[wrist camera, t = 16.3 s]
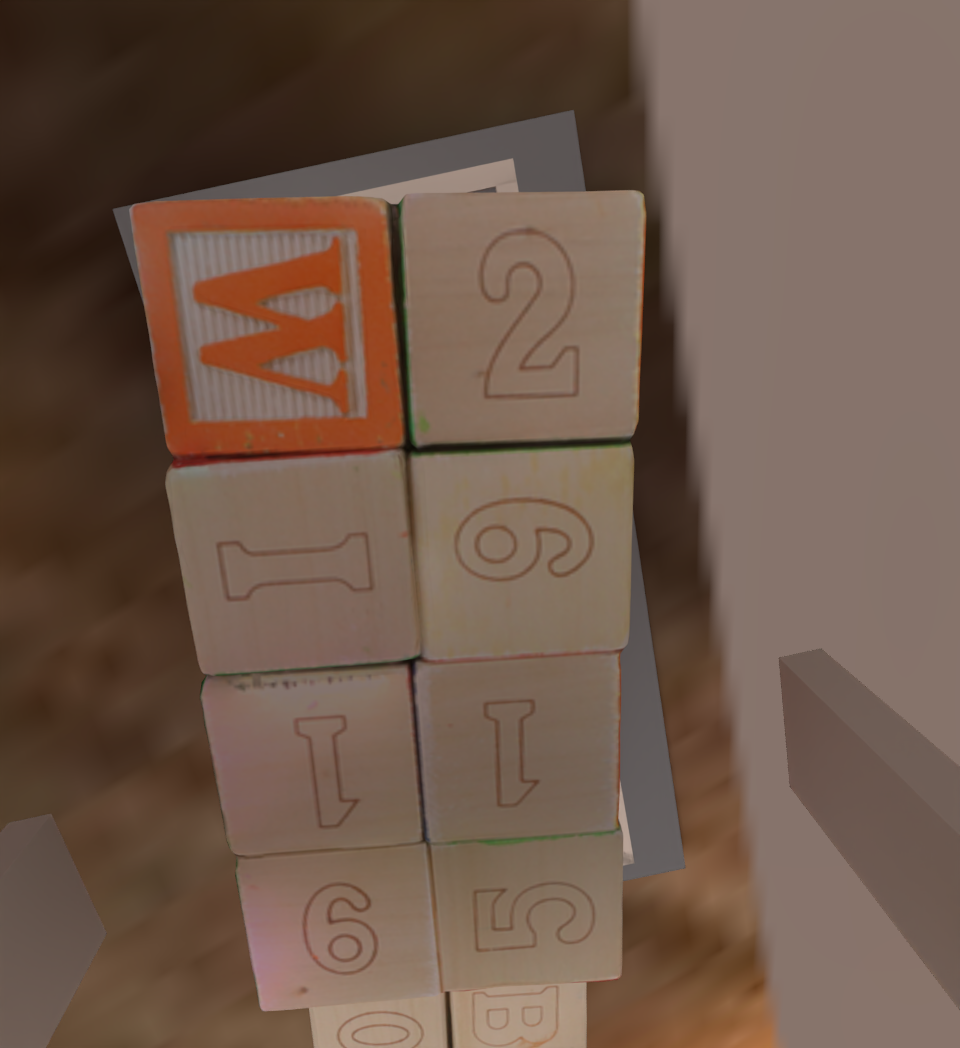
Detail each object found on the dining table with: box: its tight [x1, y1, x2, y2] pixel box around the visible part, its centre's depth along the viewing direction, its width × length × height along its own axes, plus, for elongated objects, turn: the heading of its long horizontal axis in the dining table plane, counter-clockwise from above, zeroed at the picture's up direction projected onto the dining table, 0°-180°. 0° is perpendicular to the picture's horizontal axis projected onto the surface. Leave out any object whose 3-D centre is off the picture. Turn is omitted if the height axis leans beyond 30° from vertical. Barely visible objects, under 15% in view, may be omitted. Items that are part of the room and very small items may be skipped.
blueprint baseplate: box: [113, 110, 685, 881], centre depth 23 cm, size 26×13×1 cm, turn 12°
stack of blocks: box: [129, 190, 646, 1048], centre depth 17 cm, size 21×6×12 cm, turn 2°
